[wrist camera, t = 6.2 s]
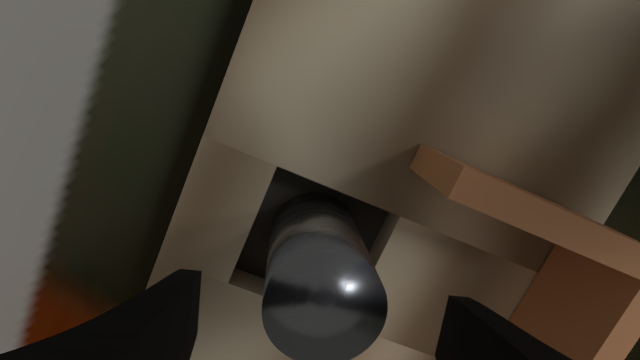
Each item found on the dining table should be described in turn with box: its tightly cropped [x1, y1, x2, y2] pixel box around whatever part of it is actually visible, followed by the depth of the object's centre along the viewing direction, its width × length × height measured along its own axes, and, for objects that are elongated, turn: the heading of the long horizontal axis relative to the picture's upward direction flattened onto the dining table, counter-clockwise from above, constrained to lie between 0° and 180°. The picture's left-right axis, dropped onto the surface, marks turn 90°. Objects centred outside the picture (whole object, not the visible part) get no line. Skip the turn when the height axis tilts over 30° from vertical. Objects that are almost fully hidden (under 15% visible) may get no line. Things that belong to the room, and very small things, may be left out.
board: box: [145, 0, 640, 360], centre depth 16 cm, size 16×22×2 cm
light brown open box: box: [409, 144, 640, 360], centre depth 15 cm, size 8×11×4 cm
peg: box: [261, 192, 388, 360], centre depth 14 cm, size 4×4×6 cm
